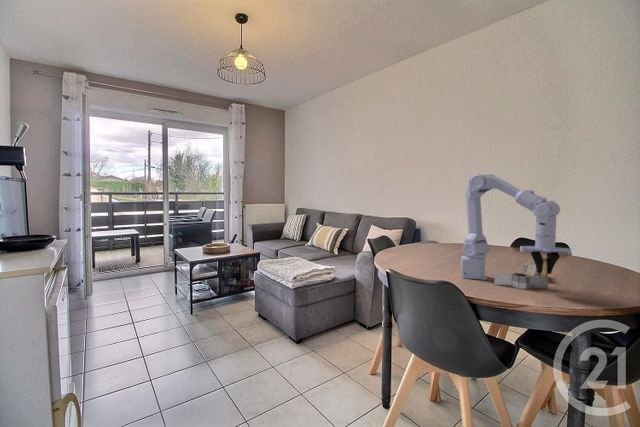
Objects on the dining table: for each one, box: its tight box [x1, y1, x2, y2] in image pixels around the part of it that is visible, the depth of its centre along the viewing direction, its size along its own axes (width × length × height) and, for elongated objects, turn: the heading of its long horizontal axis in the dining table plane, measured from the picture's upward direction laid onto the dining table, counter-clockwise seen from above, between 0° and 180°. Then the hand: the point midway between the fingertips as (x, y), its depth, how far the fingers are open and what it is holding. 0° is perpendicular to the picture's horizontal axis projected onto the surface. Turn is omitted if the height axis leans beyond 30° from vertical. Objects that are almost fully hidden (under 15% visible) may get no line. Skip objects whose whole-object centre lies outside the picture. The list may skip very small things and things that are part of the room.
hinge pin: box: [539, 257, 549, 280], centre depth 107 cm, size 2×2×7 cm
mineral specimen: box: [521, 261, 540, 276], centre depth 128 cm, size 13×7×6 cm, turn 173°
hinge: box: [493, 272, 549, 290], centre depth 116 cm, size 17×6×4 cm, turn 69°
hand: (543, 272), depth 107 cm, fingers closed on hinge pin, 2 cm apart
